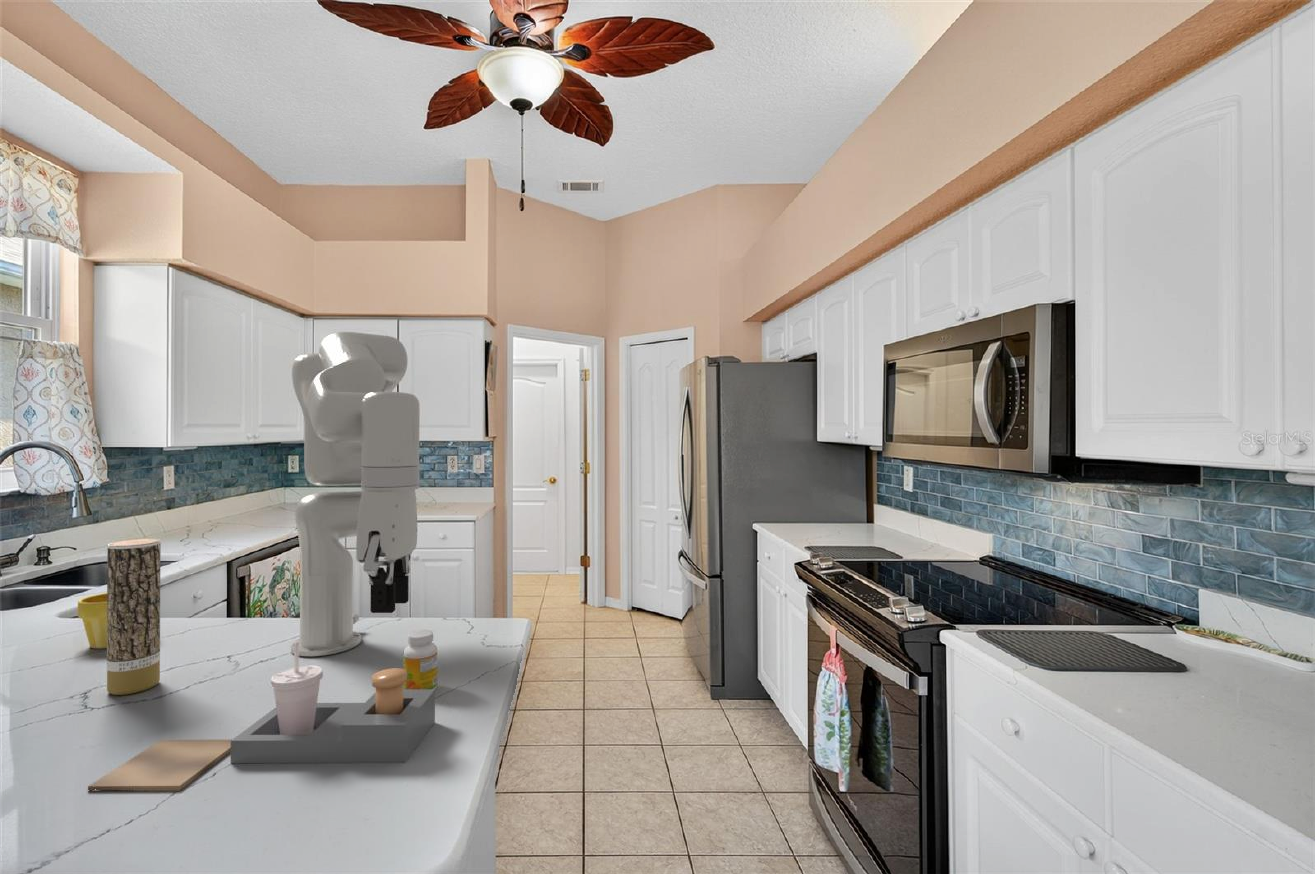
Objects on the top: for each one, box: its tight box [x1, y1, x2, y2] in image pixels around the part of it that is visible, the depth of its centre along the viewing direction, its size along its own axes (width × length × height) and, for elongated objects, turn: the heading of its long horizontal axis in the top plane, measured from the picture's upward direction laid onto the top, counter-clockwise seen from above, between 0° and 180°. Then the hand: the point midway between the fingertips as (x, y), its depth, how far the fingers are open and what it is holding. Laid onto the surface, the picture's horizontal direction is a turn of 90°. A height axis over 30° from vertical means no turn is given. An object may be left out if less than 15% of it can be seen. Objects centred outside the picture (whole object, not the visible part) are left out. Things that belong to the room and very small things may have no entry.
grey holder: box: [230, 689, 436, 764], centre depth 84 cm, size 11×23×5 cm, turn 91°
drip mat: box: [87, 738, 232, 792], centre depth 78 cm, size 11×11×1 cm
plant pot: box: [77, 592, 107, 650], centre depth 122 cm, size 10×10×10 cm
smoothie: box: [270, 641, 324, 735], centre depth 84 cm, size 6×6×14 cm
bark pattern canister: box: [106, 538, 162, 696], centre depth 101 cm, size 7×7×25 cm
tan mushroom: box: [371, 667, 407, 714], centre depth 84 cm, size 5×5×7 cm
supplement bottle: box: [403, 629, 438, 690], centre depth 101 cm, size 5×5×10 cm
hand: (390, 606), depth 84 cm, fingers open, 3 cm apart
